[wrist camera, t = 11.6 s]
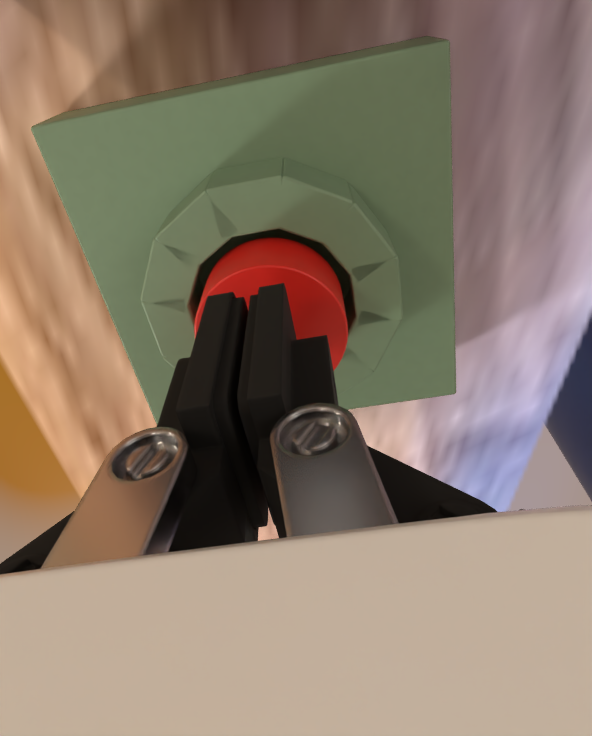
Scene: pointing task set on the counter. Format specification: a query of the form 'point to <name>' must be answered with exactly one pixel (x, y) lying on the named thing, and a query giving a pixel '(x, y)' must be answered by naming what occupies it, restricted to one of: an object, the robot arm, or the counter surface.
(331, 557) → the robot arm
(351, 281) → the button box
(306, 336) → the button
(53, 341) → the counter surface
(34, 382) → the counter surface
